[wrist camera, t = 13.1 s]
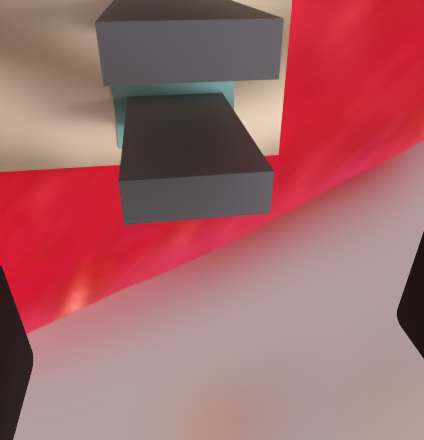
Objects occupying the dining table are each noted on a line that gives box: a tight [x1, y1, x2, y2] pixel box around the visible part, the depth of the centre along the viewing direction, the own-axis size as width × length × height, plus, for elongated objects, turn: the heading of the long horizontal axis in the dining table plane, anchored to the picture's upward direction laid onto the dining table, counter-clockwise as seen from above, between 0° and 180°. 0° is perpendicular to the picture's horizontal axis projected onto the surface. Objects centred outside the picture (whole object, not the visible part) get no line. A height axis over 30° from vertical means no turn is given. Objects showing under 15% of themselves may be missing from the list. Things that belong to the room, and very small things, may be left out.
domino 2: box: [118, 93, 274, 225], centre depth 18 cm, size 2×5×10 cm, turn 90°
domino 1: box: [95, 0, 284, 86], centre depth 15 cm, size 2×5×10 cm, turn 90°
